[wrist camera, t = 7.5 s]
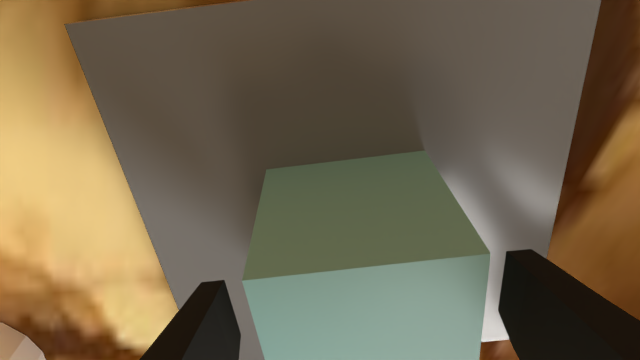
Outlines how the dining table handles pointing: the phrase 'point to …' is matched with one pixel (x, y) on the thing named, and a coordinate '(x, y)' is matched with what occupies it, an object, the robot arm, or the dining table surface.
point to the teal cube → (365, 263)
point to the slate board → (336, 114)
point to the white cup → (17, 345)
